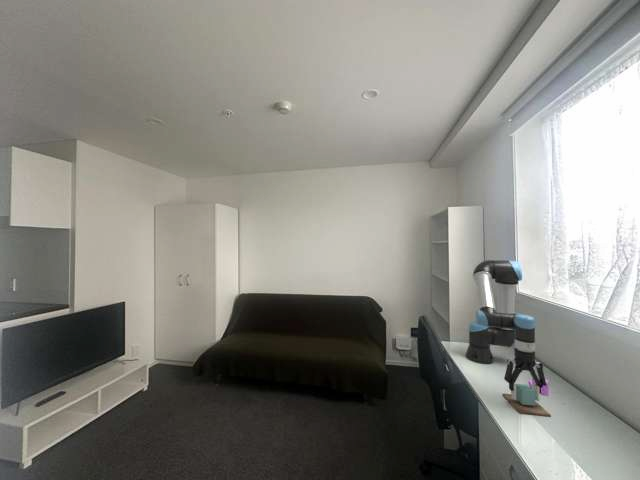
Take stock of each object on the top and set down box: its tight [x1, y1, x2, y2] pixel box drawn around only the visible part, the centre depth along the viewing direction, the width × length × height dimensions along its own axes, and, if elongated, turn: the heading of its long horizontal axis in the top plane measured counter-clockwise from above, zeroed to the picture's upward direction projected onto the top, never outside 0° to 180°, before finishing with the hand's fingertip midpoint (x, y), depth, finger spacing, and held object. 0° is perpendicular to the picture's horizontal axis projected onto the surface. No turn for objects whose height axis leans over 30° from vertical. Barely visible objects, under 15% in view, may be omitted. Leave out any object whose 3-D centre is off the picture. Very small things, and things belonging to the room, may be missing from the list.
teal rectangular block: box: [515, 383, 536, 406], centre depth 118 cm, size 5×5×7 cm
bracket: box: [528, 376, 549, 396], centre depth 133 cm, size 13×6×7 cm, turn 151°
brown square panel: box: [502, 393, 552, 418], centre depth 118 cm, size 14×12×8 cm
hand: (524, 398), depth 118 cm, fingers open, 9 cm apart
